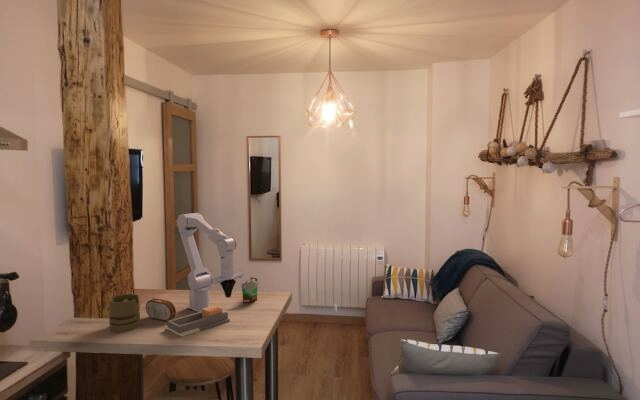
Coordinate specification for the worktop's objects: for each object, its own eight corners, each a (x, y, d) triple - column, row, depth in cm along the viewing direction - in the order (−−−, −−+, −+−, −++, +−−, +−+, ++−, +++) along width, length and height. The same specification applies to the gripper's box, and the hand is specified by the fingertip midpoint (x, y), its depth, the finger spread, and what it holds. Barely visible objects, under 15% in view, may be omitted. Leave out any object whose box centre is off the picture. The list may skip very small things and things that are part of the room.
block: (202, 318, 178) (201, 308, 178) (214, 314, 183) (214, 305, 182) (209, 321, 174) (209, 312, 174) (222, 317, 178) (222, 308, 178)
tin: (176, 320, 179) (176, 301, 178) (171, 323, 176) (170, 303, 175) (150, 315, 185) (149, 296, 185) (144, 317, 182) (143, 298, 182)
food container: (254, 305, 198) (253, 284, 197) (241, 304, 199) (241, 283, 199) (262, 297, 210) (262, 277, 209) (251, 296, 211) (250, 276, 211)
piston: (141, 293, 178) (136, 301, 167) (142, 320, 179) (137, 331, 168) (112, 295, 175) (104, 303, 164) (113, 323, 176) (106, 333, 165)
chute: (166, 328, 170) (165, 320, 170) (213, 314, 186) (213, 306, 186) (181, 336, 162) (180, 327, 161) (229, 321, 178) (229, 313, 177)
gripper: (218, 270, 174) (218, 302, 176) (246, 264, 185) (247, 295, 186) (208, 267, 179) (209, 299, 180) (237, 262, 190) (237, 291, 191)
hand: (228, 296), depth 184 cm, fingers closed
